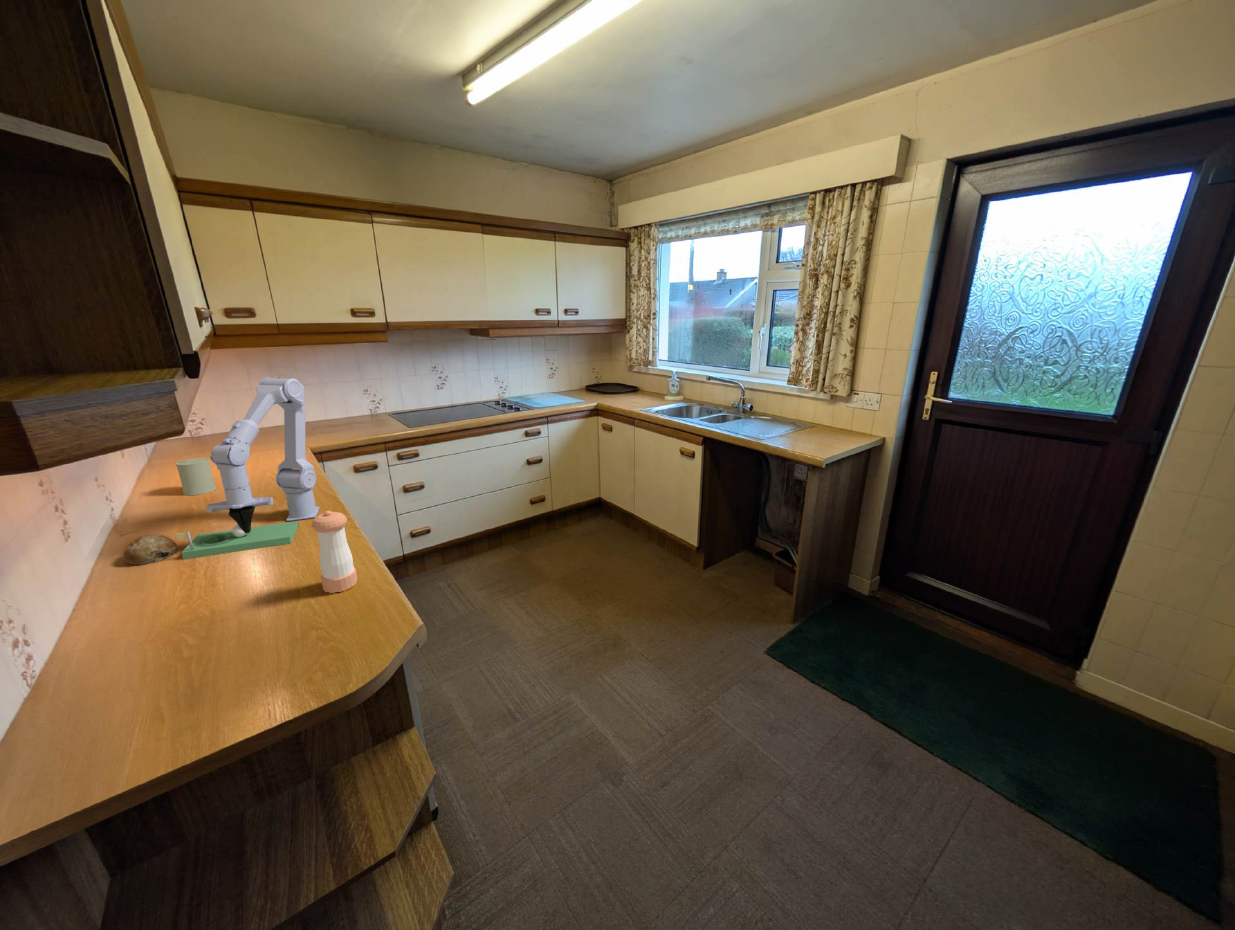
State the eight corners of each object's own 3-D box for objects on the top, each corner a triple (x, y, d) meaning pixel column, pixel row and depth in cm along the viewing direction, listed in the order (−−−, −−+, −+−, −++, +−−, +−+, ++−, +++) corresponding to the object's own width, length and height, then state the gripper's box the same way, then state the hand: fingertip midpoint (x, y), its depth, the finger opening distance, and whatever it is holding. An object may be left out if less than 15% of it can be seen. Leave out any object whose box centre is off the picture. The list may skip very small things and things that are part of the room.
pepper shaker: (319, 595, 110) (304, 519, 104) (328, 579, 117) (314, 507, 111) (353, 591, 112) (341, 515, 106) (361, 575, 119) (349, 504, 113)
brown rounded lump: (143, 579, 123) (146, 556, 120) (110, 560, 123) (112, 536, 120) (183, 561, 132) (187, 539, 129) (153, 544, 132) (155, 521, 130)
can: (188, 488, 177) (180, 458, 174) (219, 485, 181) (212, 455, 177) (179, 497, 169) (170, 464, 166) (212, 493, 173) (204, 461, 169)
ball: (244, 520, 136) (253, 530, 137) (231, 527, 135) (240, 537, 136) (239, 523, 133) (249, 533, 134) (226, 531, 132) (236, 541, 133)
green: (197, 541, 136) (191, 518, 134) (298, 527, 146) (293, 505, 144) (181, 559, 126) (174, 535, 124) (290, 543, 135) (286, 520, 133)
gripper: (198, 494, 125) (210, 541, 129) (265, 487, 131) (274, 532, 134) (207, 486, 131) (218, 531, 135) (270, 480, 137) (279, 523, 141)
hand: (247, 531), depth 135 cm, fingers closed, pressing on ball
